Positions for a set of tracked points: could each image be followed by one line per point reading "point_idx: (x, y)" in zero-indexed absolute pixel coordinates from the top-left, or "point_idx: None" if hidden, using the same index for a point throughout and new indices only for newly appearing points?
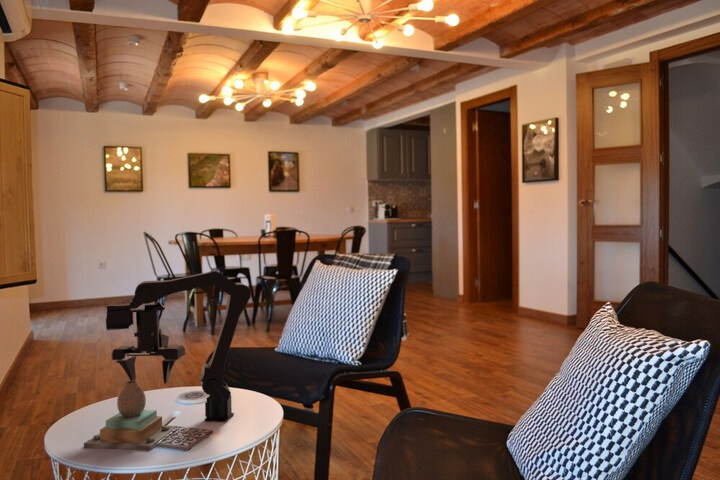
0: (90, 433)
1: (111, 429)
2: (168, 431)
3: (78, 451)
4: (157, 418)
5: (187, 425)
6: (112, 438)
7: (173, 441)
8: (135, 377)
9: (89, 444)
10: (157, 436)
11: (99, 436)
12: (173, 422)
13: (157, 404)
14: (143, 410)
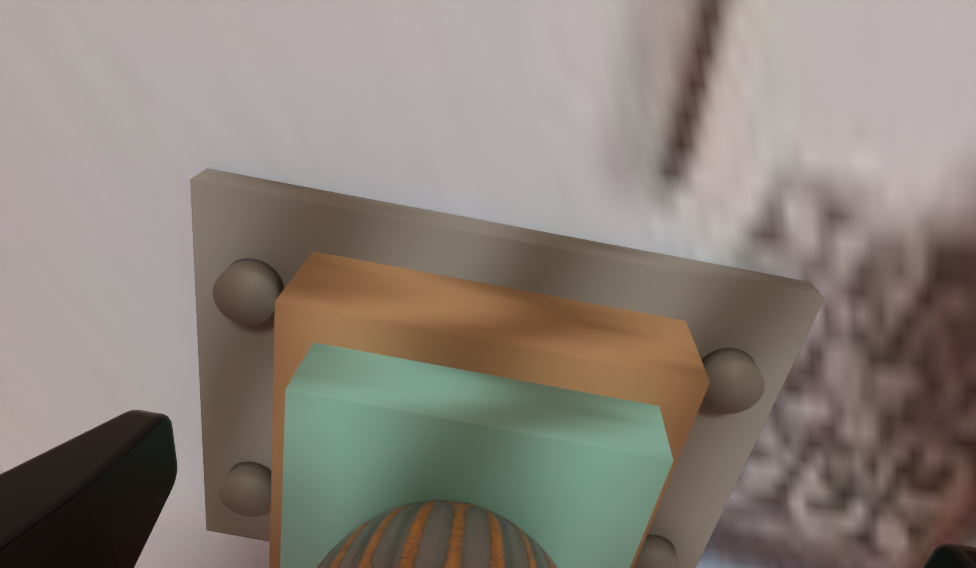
0: (83, 285)
1: None
2: (756, 411)
3: (227, 553)
4: (672, 430)
5: (909, 178)
6: None
7: (798, 495)
8: (82, 500)
9: (250, 532)
10: (683, 490)
11: (266, 508)
12: (753, 70)
13: None
14: (522, 452)
